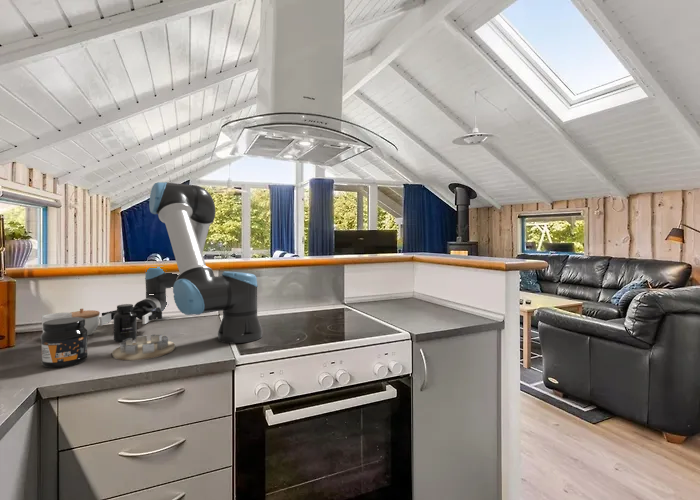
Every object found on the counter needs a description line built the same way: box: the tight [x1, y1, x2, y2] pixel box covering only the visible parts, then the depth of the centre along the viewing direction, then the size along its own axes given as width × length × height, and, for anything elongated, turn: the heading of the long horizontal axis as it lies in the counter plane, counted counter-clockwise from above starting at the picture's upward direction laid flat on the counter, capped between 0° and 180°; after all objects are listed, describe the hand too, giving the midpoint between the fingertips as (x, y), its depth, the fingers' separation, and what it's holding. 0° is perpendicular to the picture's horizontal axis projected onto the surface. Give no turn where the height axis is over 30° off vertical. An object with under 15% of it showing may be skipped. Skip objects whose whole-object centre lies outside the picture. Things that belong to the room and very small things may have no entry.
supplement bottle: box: [112, 303, 137, 343], centre depth 130 cm, size 7×7×12 cm
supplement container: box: [40, 317, 89, 369], centre depth 107 cm, size 10×10×12 cm
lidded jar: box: [70, 308, 101, 336], centre depth 137 cm, size 11×11×9 cm
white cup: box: [41, 312, 72, 333], centre depth 123 cm, size 8×8×10 cm
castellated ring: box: [119, 334, 169, 355], centre depth 118 cm, size 13×13×2 cm
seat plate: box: [112, 340, 176, 361], centre depth 118 cm, size 17×17×1 cm
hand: (122, 320), depth 129 cm, fingers open, 13 cm apart
